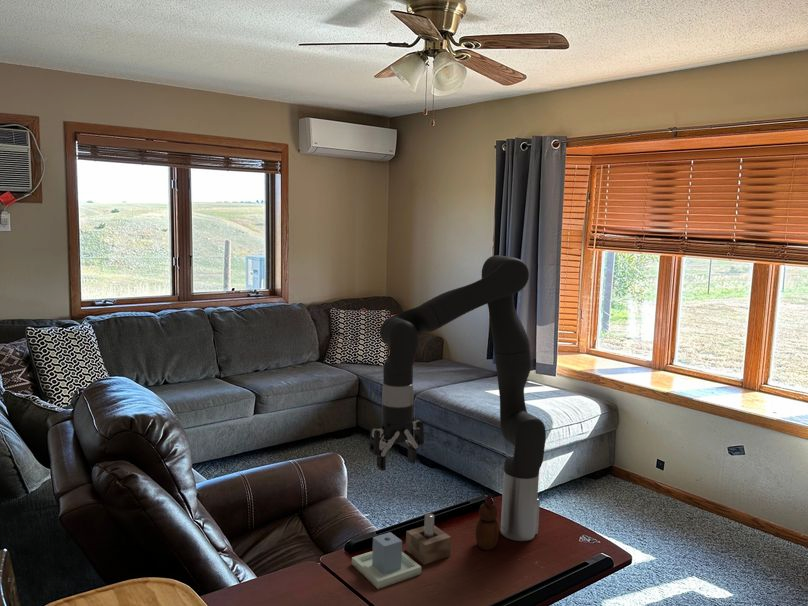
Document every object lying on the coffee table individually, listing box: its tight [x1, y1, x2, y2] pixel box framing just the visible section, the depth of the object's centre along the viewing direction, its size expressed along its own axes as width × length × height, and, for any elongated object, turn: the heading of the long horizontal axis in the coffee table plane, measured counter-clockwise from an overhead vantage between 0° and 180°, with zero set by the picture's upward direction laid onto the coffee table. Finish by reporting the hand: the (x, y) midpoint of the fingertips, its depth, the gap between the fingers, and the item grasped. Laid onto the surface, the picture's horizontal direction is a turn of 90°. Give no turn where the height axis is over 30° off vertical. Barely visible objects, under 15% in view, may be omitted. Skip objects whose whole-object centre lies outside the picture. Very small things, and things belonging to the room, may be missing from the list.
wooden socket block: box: [405, 524, 452, 566], centre depth 160 cm, size 8×8×5 cm
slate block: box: [372, 531, 403, 575], centre depth 152 cm, size 5×5×7 cm
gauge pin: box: [423, 513, 435, 539], centre depth 160 cm, size 2×2×10 cm
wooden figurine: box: [475, 492, 499, 551], centre depth 164 cm, size 7×6×15 cm
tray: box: [351, 550, 422, 590], centre depth 153 cm, size 12×12×2 cm
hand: (396, 466), depth 155 cm, fingers open, 8 cm apart
